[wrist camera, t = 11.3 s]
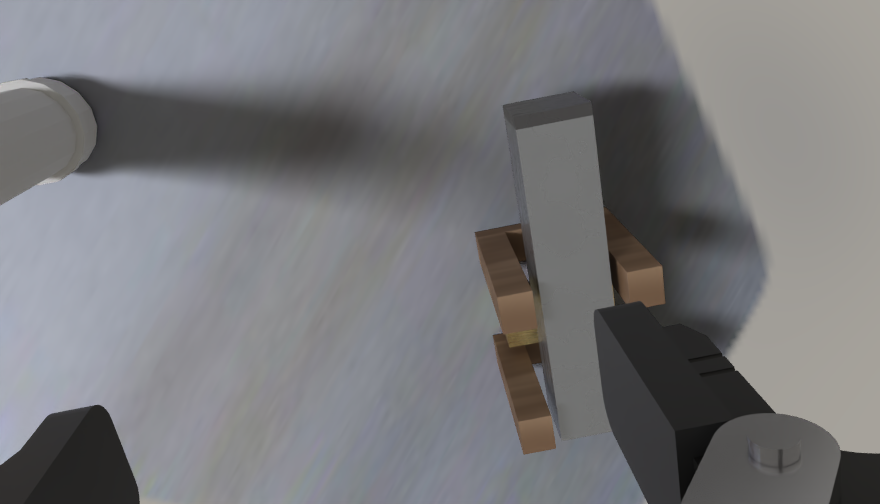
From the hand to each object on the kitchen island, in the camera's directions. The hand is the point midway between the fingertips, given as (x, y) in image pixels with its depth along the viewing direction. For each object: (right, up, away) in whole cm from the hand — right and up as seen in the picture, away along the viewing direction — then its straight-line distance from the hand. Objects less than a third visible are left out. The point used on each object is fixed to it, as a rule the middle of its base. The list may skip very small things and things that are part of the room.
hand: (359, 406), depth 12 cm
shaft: (+8, +2, +28) cm, 30 cm away
